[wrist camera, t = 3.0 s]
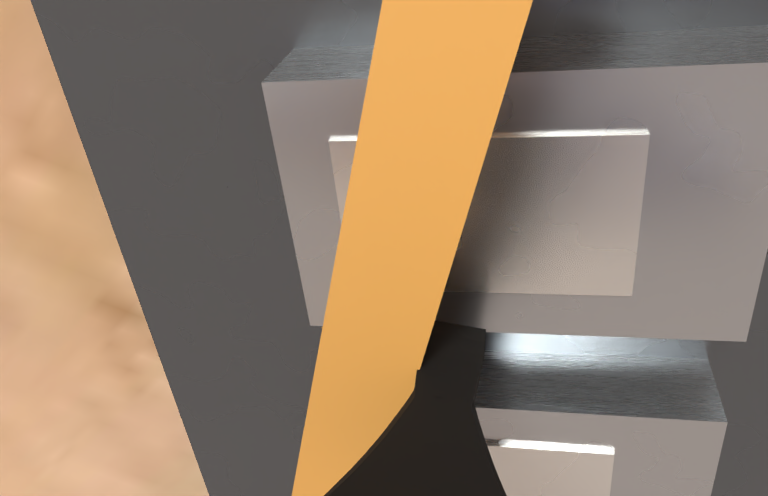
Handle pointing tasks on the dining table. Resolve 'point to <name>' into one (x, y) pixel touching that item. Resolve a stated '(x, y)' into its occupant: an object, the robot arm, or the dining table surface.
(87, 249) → the dining table surface
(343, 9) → the dark grey panel board
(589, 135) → the block
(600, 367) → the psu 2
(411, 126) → the orange wooden bar
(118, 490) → the dining table surface
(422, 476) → the robot arm
